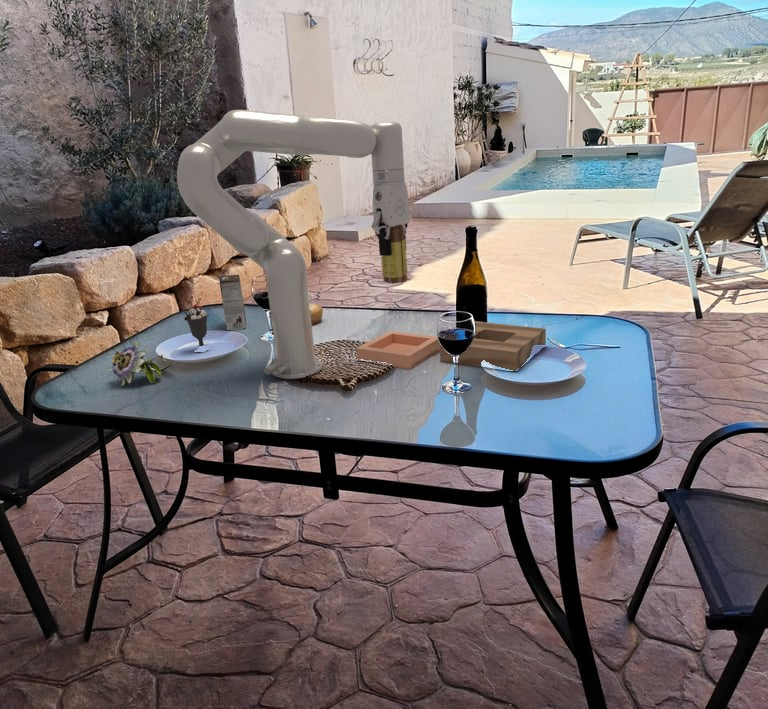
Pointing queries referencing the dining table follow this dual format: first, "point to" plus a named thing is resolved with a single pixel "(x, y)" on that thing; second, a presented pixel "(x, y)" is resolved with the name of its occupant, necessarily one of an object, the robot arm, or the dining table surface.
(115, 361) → the passion flower
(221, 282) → the coffee box
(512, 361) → the holder block
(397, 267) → the sauce bottle
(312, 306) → the pastry
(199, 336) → the sundae
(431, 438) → the dining table surface
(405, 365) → the tray
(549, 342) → the dining table surface
